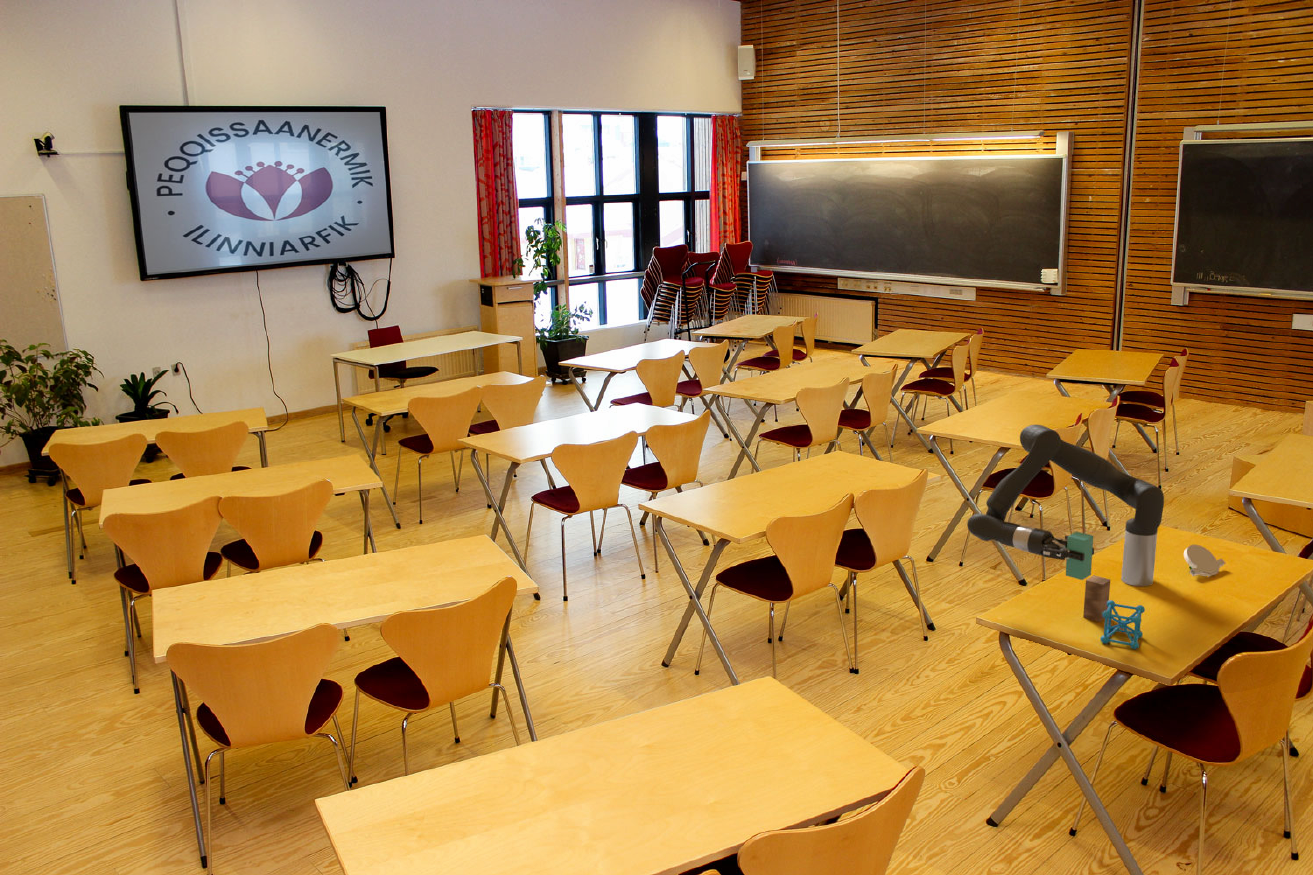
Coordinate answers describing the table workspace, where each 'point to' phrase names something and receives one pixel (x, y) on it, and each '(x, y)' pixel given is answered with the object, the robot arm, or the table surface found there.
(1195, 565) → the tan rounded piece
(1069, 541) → the teal pillar
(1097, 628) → the table surface
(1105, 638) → the molecular structure
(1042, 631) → the table surface
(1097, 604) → the walnut pillar
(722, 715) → the table surface
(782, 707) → the table surface
